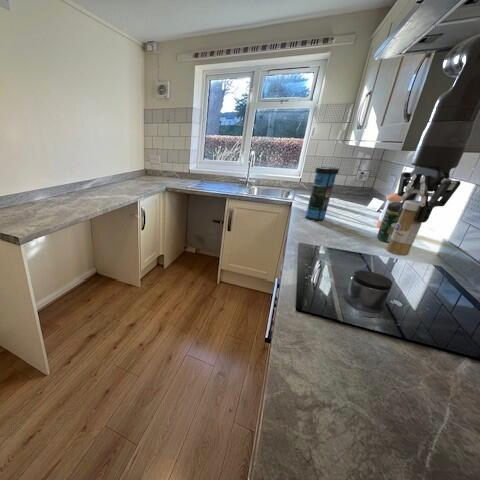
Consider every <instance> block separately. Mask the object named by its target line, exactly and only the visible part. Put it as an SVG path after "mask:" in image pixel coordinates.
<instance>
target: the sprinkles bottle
mask: <svg viewBox="0 0 480 480" xmlns="http://www.w3.org/2000/svg"><path fill="white" fill-rule="evenodd" d="M419 206H421V200H417V199H416V200H406V201H405V202H404V204H403V207H402V208H403V209H402V213H401V215H400V217H399V220H398V222H397V224H396V226H395V229H394V231H393V234H392V236H391V239H390V242H389V243H388V245H387V247H386V248H385V251H386V252H388V253H390V254H392V255H395V256H400V257H401V256H403V257H404V256H405V257H406V256H409V254H410V251H411V248H412V246H413V244H414V243H415V240H416V238H417V235H418V234H419V231H420V230H421V229H420V228H421V226H422V225H423V224H422V222H415V221H414V218H415V215H416V213H417V211H418V208H419Z"/></svg>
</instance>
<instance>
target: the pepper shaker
mask: <svg viewBox="0 0 480 480" xmlns="http://www.w3.org/2000/svg"><path fill="white" fill-rule="evenodd" d="M397 194H398V192H395V193H392V194H391V193H390V194H388V195H386V196H385V199H386V202H385V204H384V208H383V209H382V211H381V213H380V215H379V218H378V219H377V220H376V223H375V227H377V228H379V229H380V226H381V224H382V221H383V218H384V215H385V212H386V209H387V207H388V204H389V203H392V202H402V201H403V200H402V199H401V198H402V197H401V196H398V195H397Z"/></svg>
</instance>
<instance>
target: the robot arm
mask: <svg viewBox="0 0 480 480" xmlns="http://www.w3.org/2000/svg"><path fill="white" fill-rule="evenodd" d="M442 71H443V72H444V74H445V75H446V76H448V77H450V78H454V79H455V81H454V83H453V85H452V86H451V87H449V89H448V90H446V91H444V92H443V93H442V94H440V96H438V98H437V100H436V101H435V104H434V106H433V108H432V111H431V113H430V117H429V119H428V122H427V124H426V126H425V128H424V129H423V131H422V134H421V136H420V138H419V141H418V144H417V146H416V148H415V151H414V154H413V157H412V159H411V162H410V163H411V165H412V166H413V167H414V168H413V169H412V170H411V171H408V172H403V171H402V172H401V173H400V177H399V183H398V188H397V193H398V194H397V195H398V196H401V197H402V198H401V199H402V201H401V202H402V204H401V207H400V209H399V213H398V214H399V215H401V213H402V209H403V208H402V207H403V204H404V202H405V201H406V200H416V201H417V198H418V197H420V198H421V199H420V201H421V206H419V208H418V211H417V213H416V215H415V218H414V221H415V222H422V223H426V222H427V221H428V220H429V218H430V216H431V214H432V212H433V209H434V208H437V207H438V208H439V207H444V206H446V204H447V203H448V201H449V200H450V199H451V198H452V196H453V195H454V193H455V192H456V191H457V190H458V188H459V187H460V186H461V180H453V179H452V178H450V177H451V176H450V173H451V170H452V169H455V168H457V167H458V166H459V164H460V162H461V159H462V157H463V155H464V153H465V151H466V149H467V146H468V144H469V142H470V139H471V137H472V135H473V132H474V128H475V124H476V121H477V119H478V117H479V115H480V33H478V34H476V35H474V36H471V37H469V38H467V39H464V40H462V41H461V42H459V43H457V44H456V45H454V47H453V48H452V49H450V51H448V53H447V54H446V56H445V57H444V59H443V62H442ZM429 197H430V199H429Z"/></svg>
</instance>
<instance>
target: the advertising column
mask: <svg viewBox="0 0 480 480" xmlns="http://www.w3.org/2000/svg"><path fill="white" fill-rule="evenodd" d="M339 170H340V168H338V167H332V166H331V167H330V166H316V167H315V170H314V173H315V176H314V179H313V183H312V189H311V191H310V196H309V197H310V198H309V200H308V205H307V209H306V213H305V217H304V218H305V219H306V218H307V219H306V220H308V219H309V220H308V221H311V220H314V221H313V222H319V221H320V222H324V221H325V217H326V214H327V210H328V207H329V203H330V200H331V195H332V192H333V188H334V184H335V181H336V177H337V175H338V174H339ZM323 220H324V221H323Z"/></svg>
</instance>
